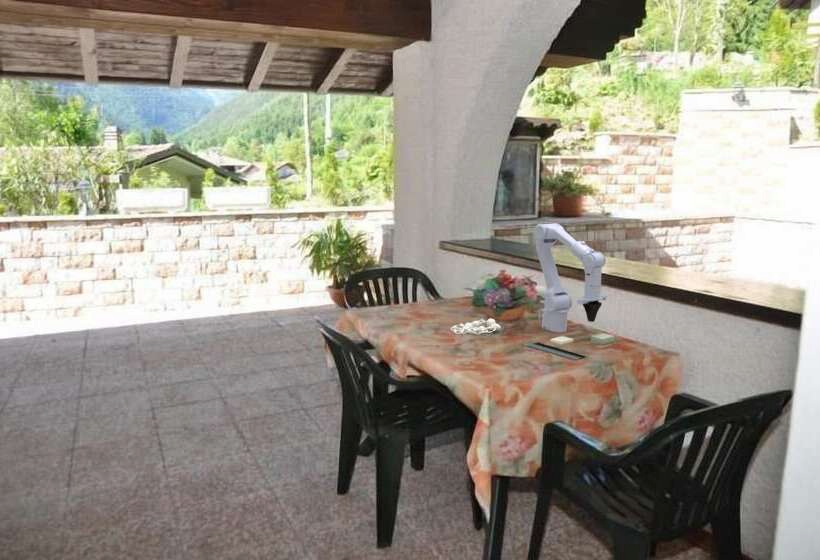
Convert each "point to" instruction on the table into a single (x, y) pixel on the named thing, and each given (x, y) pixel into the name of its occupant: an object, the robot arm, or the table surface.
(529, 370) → the table surface
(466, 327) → the tangled rod sculpture
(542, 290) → the lollipop
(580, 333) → the board
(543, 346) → the mat
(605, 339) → the tile sage
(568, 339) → the tile cream
